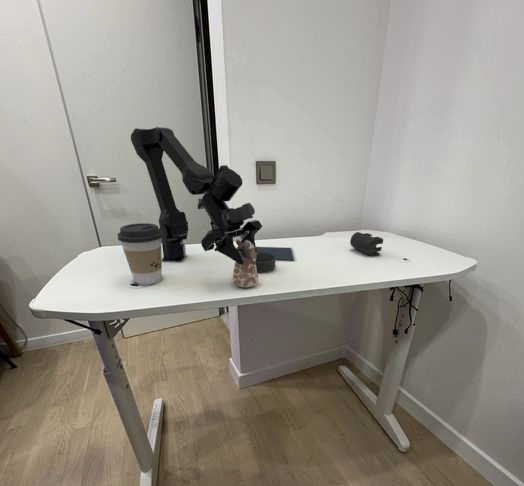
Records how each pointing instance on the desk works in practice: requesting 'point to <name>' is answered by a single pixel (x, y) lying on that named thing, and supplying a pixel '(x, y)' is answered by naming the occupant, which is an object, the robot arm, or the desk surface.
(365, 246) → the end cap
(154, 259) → the coffee cup
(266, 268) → the smart speaker
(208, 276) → the desk surface
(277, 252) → the mat
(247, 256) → the figurine
